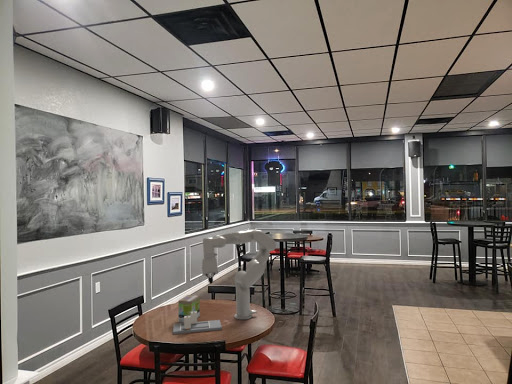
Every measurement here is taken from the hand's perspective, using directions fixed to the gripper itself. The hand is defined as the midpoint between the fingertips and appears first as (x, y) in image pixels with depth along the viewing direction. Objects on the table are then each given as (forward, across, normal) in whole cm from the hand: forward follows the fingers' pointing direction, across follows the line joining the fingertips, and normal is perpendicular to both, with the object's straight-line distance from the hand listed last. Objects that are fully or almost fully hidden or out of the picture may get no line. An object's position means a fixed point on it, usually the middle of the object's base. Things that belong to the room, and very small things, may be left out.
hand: (210, 283), depth 235 cm
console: (+26, +11, +8) cm, 29 cm away
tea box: (+26, +15, -11) cm, 32 cm away
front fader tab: (+23, +17, +12) cm, 31 cm away
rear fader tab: (+24, +13, +4) cm, 27 cm away
